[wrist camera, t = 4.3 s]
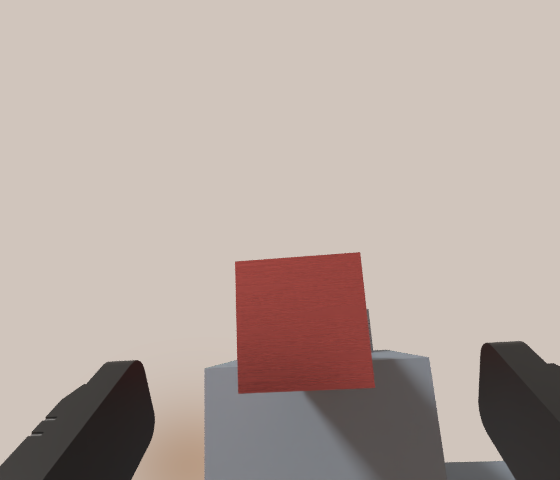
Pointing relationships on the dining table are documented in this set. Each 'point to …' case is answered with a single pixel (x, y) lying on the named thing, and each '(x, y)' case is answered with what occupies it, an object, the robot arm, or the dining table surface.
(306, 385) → the grey red bar
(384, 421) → the stand
